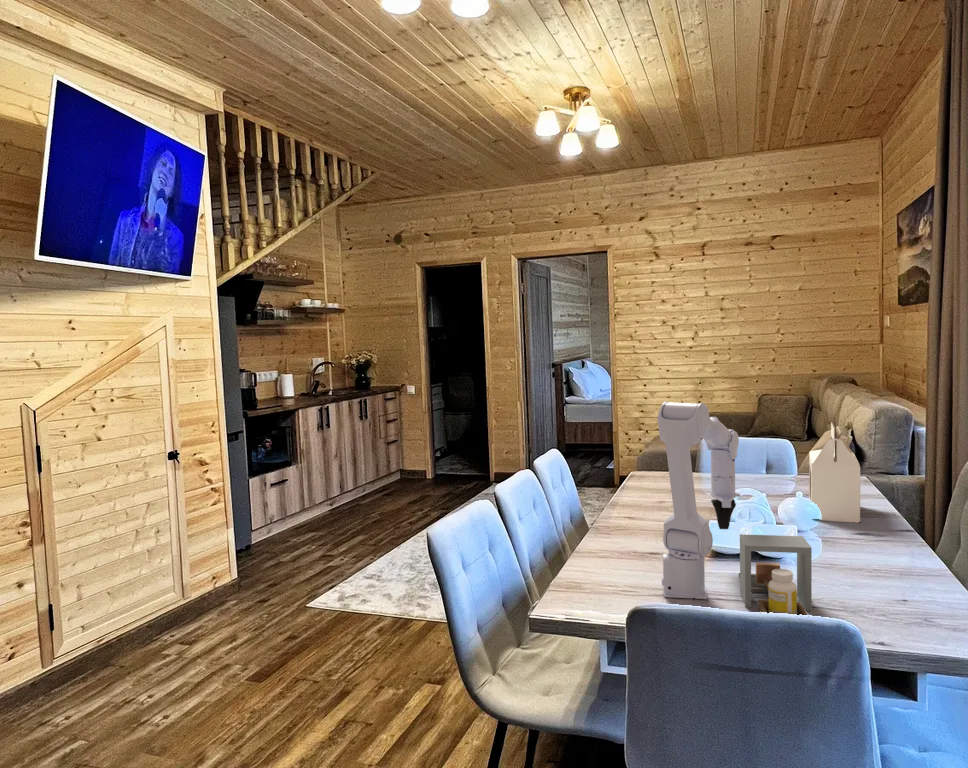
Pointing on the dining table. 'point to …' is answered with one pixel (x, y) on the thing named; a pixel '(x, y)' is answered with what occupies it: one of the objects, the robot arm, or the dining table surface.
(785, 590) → the supplement bottle
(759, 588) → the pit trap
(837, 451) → the gable box
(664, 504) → the dining table surface
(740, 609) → the dining table surface
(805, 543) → the tunnel
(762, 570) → the sled
